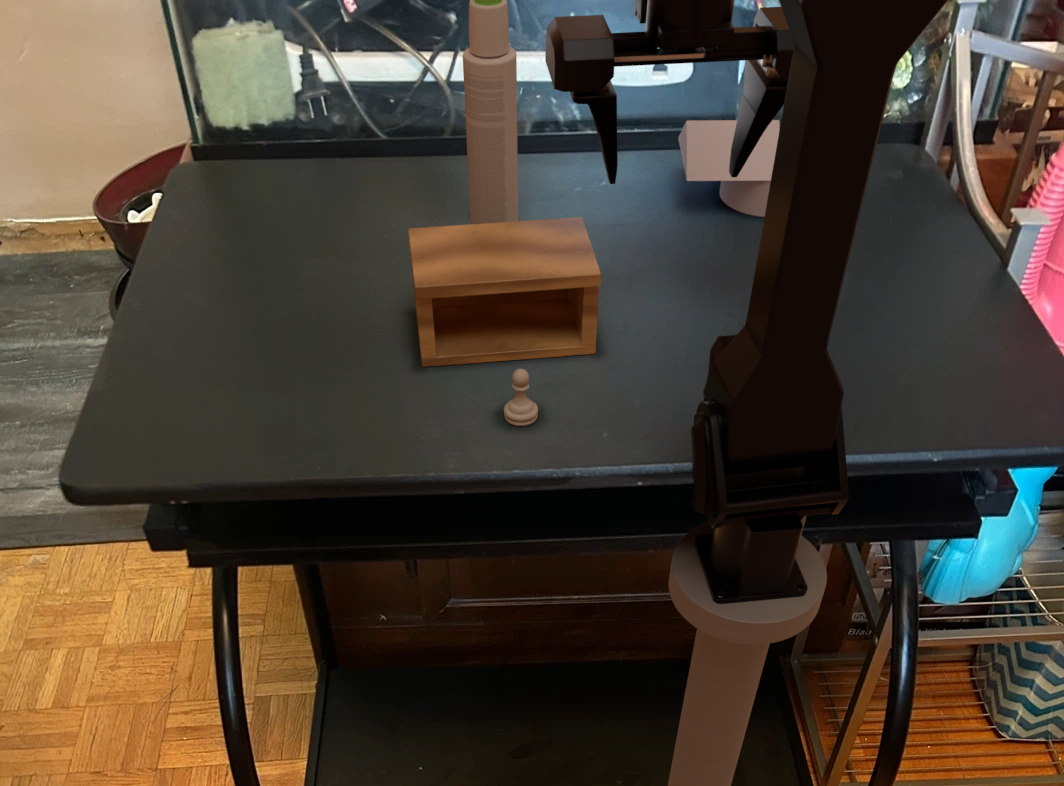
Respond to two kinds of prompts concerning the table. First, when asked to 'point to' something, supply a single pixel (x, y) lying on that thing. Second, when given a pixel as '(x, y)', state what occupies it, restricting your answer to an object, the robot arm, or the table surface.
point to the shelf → (504, 291)
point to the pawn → (520, 402)
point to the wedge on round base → (710, 161)
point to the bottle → (491, 114)
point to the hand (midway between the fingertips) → (672, 178)
